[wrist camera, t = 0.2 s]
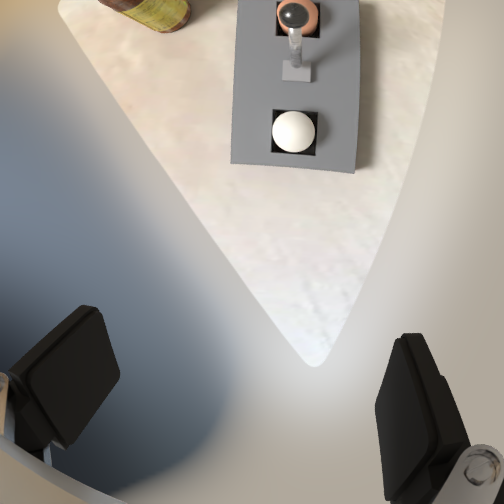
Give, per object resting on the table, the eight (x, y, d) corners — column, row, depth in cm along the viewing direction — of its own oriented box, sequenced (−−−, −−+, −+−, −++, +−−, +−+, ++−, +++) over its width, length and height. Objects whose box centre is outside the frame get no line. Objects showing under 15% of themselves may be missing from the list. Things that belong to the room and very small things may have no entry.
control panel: (243, 1, 29) (237, -11, 26) (355, 7, 27) (359, -5, 24) (236, 161, 37) (228, 164, 34) (350, 171, 35) (355, 174, 32)
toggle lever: (284, 57, 28) (278, -4, 19) (309, 59, 28) (309, -3, 19) (283, 75, 28) (276, 13, 19) (308, 76, 28) (309, 15, 18)
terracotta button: (280, 7, 28) (277, -4, 25) (317, 9, 27) (317, -2, 24) (279, 37, 29) (276, 28, 26) (317, 39, 29) (318, 30, 25)
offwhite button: (276, 112, 33) (273, 109, 30) (314, 115, 32) (315, 112, 29) (274, 149, 34) (271, 150, 31) (312, 152, 34) (313, 153, 31)
